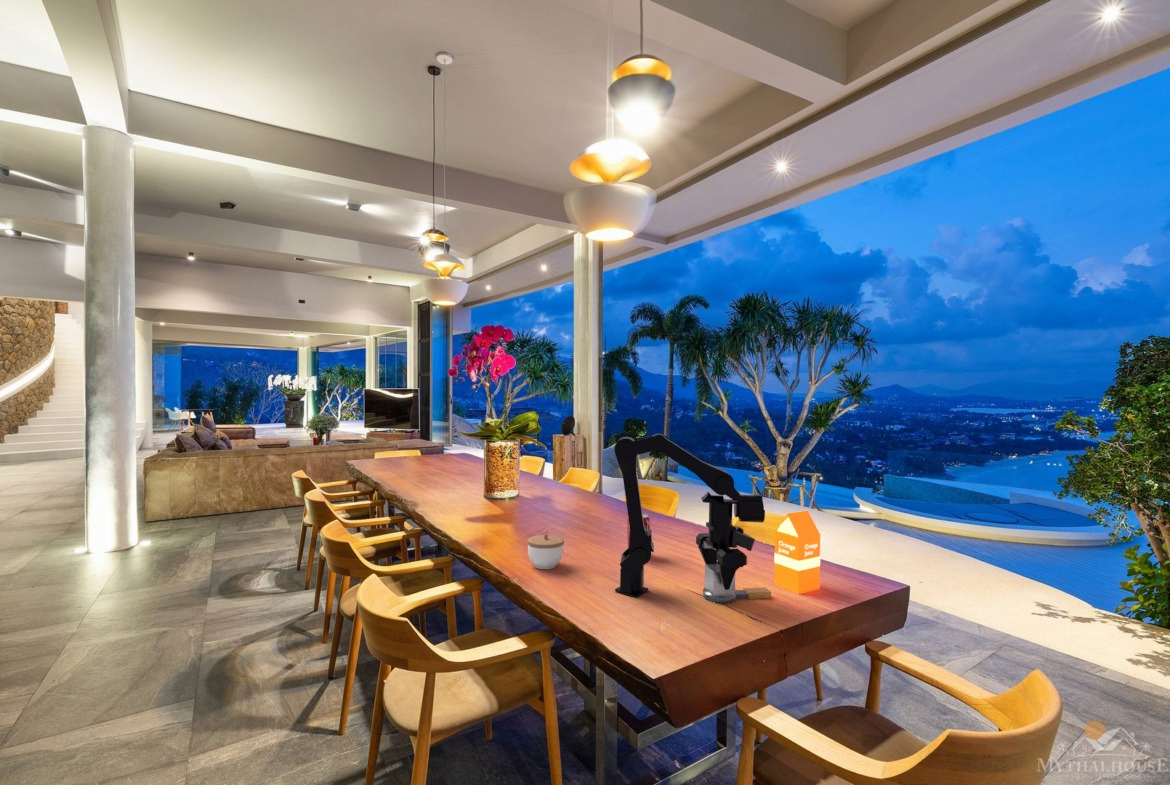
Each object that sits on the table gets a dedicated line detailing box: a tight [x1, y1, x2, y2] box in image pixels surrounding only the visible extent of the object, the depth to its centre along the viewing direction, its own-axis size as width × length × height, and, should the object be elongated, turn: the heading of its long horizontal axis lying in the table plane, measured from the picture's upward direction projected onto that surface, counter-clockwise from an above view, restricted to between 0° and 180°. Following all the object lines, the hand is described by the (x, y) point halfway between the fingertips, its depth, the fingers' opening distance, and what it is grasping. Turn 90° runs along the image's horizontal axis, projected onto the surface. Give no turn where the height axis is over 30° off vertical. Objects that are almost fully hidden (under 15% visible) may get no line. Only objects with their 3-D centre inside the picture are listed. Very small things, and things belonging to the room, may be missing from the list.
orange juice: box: [773, 510, 821, 595], centre depth 134 cm, size 8×9×20 cm
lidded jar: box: [527, 533, 565, 570], centre depth 147 cm, size 11×11×9 cm
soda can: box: [626, 512, 651, 550], centre depth 158 cm, size 7×7×13 cm
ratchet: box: [702, 587, 772, 605], centre depth 126 cm, size 17×8×4 cm, turn 97°
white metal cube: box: [704, 563, 736, 596], centre depth 126 cm, size 6×6×6 cm
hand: (719, 582), depth 126 cm, fingers open, 9 cm apart
